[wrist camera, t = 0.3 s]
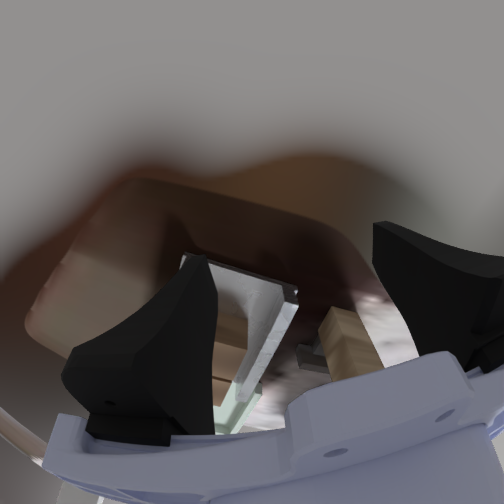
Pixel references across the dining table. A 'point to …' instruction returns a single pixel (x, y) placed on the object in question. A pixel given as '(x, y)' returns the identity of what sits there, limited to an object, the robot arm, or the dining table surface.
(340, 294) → the dining table surface
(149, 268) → the dining table surface
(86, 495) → the milk
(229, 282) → the silver metal tray
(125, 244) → the dining table surface
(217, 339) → the walnut block
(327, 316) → the tan block
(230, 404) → the tray
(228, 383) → the walnut block
